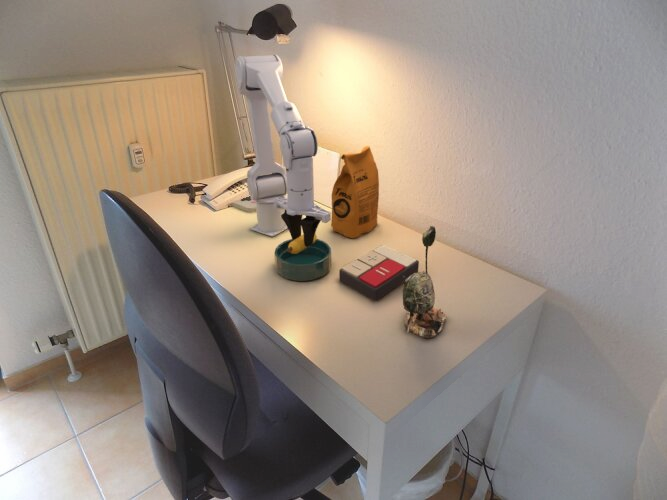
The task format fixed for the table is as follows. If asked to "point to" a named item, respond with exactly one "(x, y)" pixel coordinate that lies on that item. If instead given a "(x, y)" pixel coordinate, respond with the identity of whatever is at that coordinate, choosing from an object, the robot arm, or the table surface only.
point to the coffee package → (356, 195)
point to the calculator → (378, 271)
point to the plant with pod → (422, 298)
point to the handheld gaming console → (245, 204)
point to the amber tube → (298, 245)
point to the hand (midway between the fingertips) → (302, 242)
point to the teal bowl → (303, 261)
